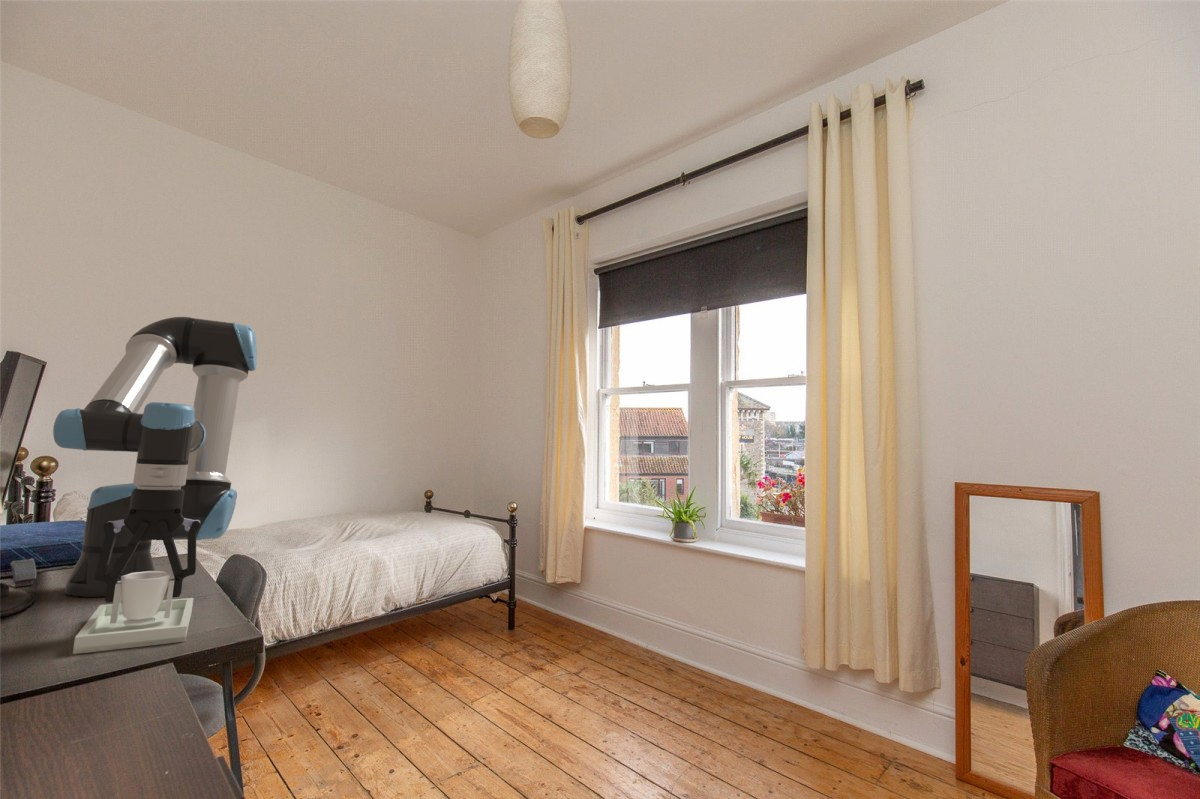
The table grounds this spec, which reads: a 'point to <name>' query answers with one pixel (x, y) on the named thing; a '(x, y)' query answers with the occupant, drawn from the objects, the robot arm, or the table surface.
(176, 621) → the tray
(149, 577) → the cup
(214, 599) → the table surface
